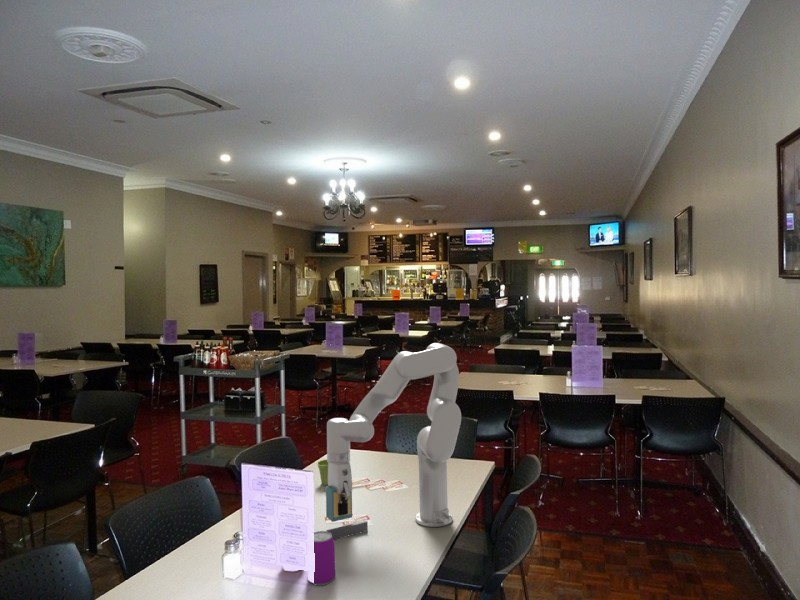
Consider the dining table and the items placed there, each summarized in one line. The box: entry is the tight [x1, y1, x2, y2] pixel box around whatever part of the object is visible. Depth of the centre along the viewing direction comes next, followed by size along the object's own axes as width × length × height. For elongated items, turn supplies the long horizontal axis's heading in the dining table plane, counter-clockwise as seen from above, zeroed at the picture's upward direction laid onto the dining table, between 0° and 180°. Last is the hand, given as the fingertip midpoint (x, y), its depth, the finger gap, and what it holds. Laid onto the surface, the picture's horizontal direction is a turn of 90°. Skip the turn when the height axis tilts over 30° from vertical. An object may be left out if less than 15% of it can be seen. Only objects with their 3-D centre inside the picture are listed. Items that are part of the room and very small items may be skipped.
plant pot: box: [316, 458, 328, 486], centre depth 235 cm, size 9×9×9 cm
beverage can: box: [313, 530, 336, 586], centre depth 156 cm, size 8×8×12 cm
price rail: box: [325, 520, 369, 541], centre depth 186 cm, size 4×14×3 cm, turn 120°
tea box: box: [325, 485, 353, 523], centre depth 189 cm, size 5×7×10 cm
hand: (339, 511), depth 189 cm, fingers closed on tea box, 5 cm apart
